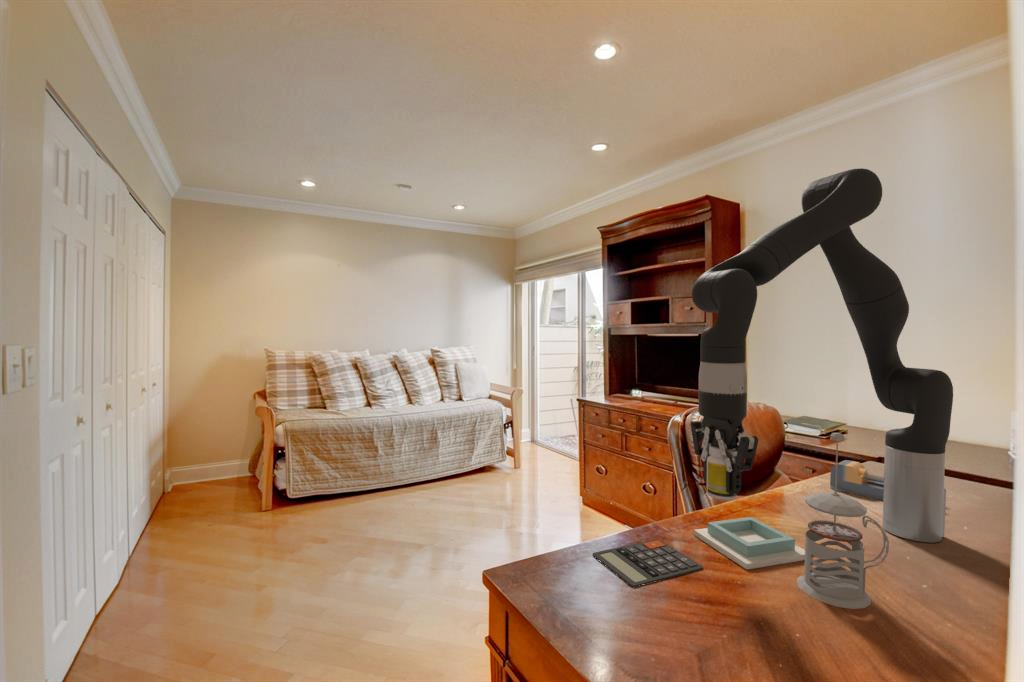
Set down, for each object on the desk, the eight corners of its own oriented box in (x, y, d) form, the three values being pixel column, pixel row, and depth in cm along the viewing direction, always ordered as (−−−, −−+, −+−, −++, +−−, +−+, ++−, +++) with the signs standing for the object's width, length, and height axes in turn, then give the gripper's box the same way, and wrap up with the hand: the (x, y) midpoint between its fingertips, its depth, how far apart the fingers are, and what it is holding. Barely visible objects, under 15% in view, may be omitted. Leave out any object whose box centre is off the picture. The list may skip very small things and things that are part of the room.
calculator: (704, 565, 81) (632, 584, 75) (704, 571, 81) (632, 590, 75) (657, 537, 92) (591, 552, 86) (657, 542, 92) (591, 557, 86)
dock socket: (751, 526, 98) (751, 512, 98) (811, 558, 85) (811, 542, 85) (693, 534, 95) (693, 519, 94) (746, 569, 81) (747, 552, 81)
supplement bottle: (739, 501, 79) (740, 451, 78) (709, 499, 80) (710, 449, 79) (732, 491, 83) (733, 443, 83) (704, 489, 84) (704, 442, 84)
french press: (793, 568, 82) (797, 423, 81) (876, 585, 77) (881, 430, 76) (800, 598, 73) (804, 435, 72) (895, 619, 68) (901, 444, 67)
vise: (827, 489, 121) (827, 464, 121) (841, 481, 128) (842, 457, 128) (918, 511, 107) (919, 482, 107) (929, 501, 114) (930, 473, 114)
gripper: (774, 393, 75) (772, 500, 76) (712, 382, 89) (711, 473, 89) (734, 395, 73) (733, 505, 74) (677, 384, 87) (676, 477, 87)
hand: (721, 487), depth 82 cm, fingers closed on supplement bottle, 4 cm apart
